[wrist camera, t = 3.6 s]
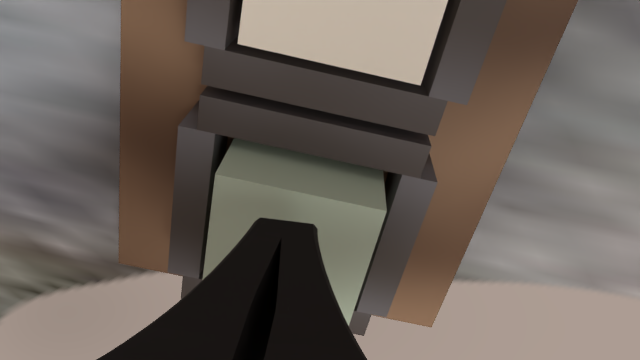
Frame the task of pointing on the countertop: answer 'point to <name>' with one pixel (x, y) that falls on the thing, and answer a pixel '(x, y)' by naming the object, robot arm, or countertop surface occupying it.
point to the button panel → (326, 133)
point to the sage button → (300, 208)
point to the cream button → (348, 33)
